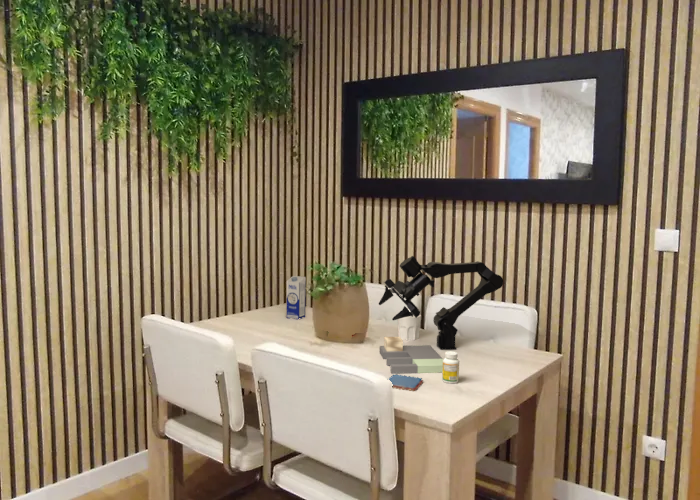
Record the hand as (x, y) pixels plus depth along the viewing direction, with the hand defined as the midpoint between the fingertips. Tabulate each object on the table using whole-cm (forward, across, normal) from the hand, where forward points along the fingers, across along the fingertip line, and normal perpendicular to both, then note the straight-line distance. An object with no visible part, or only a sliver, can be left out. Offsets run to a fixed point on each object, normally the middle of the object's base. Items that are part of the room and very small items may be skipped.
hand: (385, 312), depth 226 cm
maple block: (+7, +13, +2) cm, 15 cm away
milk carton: (+34, -50, +33) cm, 69 cm away
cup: (0, +2, +26) cm, 26 cm away
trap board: (+5, +23, 0) cm, 24 cm away
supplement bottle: (0, +43, -12) cm, 45 cm away
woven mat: (+12, +37, -20) cm, 44 cm away
